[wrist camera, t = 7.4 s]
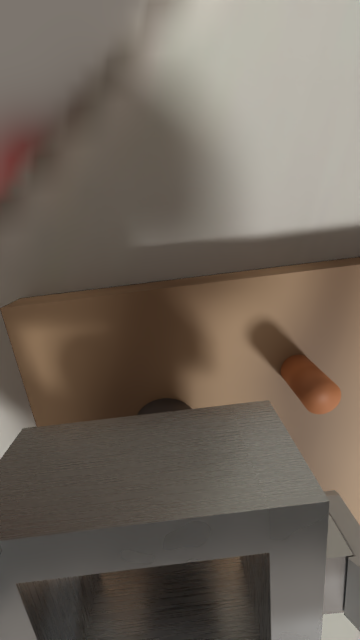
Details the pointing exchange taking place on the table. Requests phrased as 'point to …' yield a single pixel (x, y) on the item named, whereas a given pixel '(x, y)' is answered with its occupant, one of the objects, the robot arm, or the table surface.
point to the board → (207, 354)
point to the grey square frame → (162, 530)
